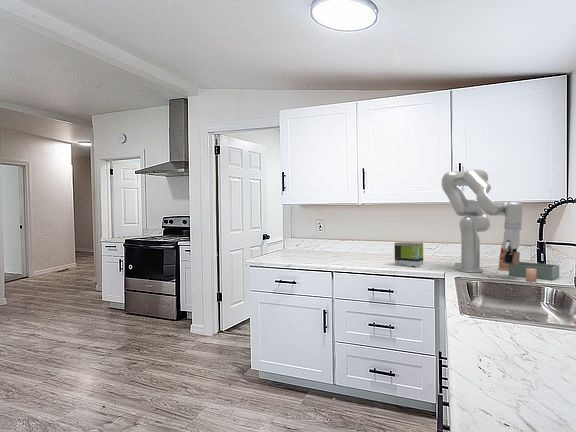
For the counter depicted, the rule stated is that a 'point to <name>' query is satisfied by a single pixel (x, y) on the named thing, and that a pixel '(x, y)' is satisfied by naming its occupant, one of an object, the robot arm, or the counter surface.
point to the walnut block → (514, 258)
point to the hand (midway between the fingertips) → (510, 261)
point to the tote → (542, 270)
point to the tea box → (409, 253)
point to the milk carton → (501, 265)
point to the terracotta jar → (531, 275)
